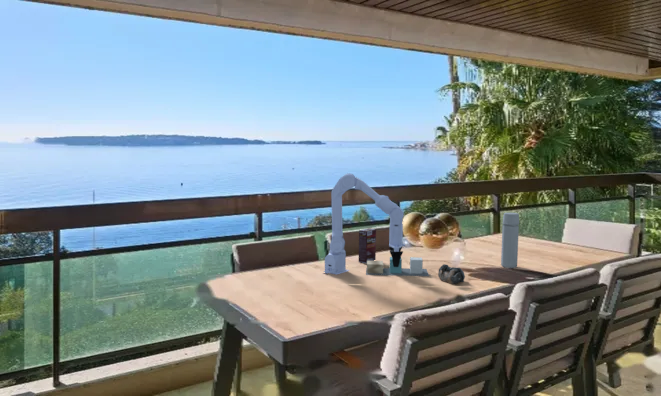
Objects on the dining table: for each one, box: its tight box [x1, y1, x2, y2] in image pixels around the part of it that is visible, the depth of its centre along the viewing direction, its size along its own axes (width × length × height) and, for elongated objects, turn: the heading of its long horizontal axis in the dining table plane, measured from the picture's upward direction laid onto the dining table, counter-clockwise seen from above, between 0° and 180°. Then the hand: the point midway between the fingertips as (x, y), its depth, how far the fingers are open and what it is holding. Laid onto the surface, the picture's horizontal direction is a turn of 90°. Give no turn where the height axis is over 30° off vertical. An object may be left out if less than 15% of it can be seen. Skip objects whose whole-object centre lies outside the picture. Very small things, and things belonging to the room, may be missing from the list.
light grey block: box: [409, 256, 424, 274], centre depth 222 cm, size 5×5×6 cm
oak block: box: [366, 260, 384, 274], centre depth 223 cm, size 7×7×4 cm
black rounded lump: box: [437, 263, 466, 285], centre depth 207 cm, size 12×7×10 cm
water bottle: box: [500, 212, 520, 269], centre depth 234 cm, size 9×8×25 cm
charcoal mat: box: [365, 267, 430, 277], centre depth 223 cm, size 27×13×1 cm, turn 85°
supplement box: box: [358, 227, 377, 264], centre depth 243 cm, size 9×5×16 cm, turn 143°
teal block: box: [389, 256, 403, 273], centre depth 223 cm, size 5×5×6 cm
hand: (395, 264), depth 223 cm, fingers open, 7 cm apart
